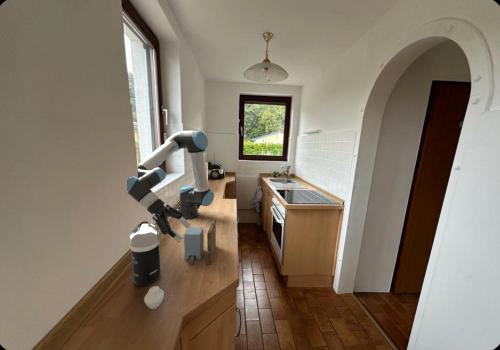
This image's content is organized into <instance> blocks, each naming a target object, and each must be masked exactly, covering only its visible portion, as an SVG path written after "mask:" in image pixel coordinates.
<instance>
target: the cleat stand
mask: <svg viewBox="0 0 500 350" xmlns="http://www.w3.org/2000/svg"><path fill="white" fill-rule="evenodd" d="M206 234H207V235H206V236H207V241H206V242H207V243H206V244H207V247H206V248H207V251H206V252H207V265H209V266H210V265H211V264H212V261H213V257H214V254H215V250H216V246H217V245H216V243H217V239H216V237H217V219H216V218H213V219H212V221H211V222H210V225H209V227H208V229H207V233H206ZM195 259H196V255H191V256H190V258H189V259H188V265H193V263H194V260H195Z"/></svg>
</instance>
